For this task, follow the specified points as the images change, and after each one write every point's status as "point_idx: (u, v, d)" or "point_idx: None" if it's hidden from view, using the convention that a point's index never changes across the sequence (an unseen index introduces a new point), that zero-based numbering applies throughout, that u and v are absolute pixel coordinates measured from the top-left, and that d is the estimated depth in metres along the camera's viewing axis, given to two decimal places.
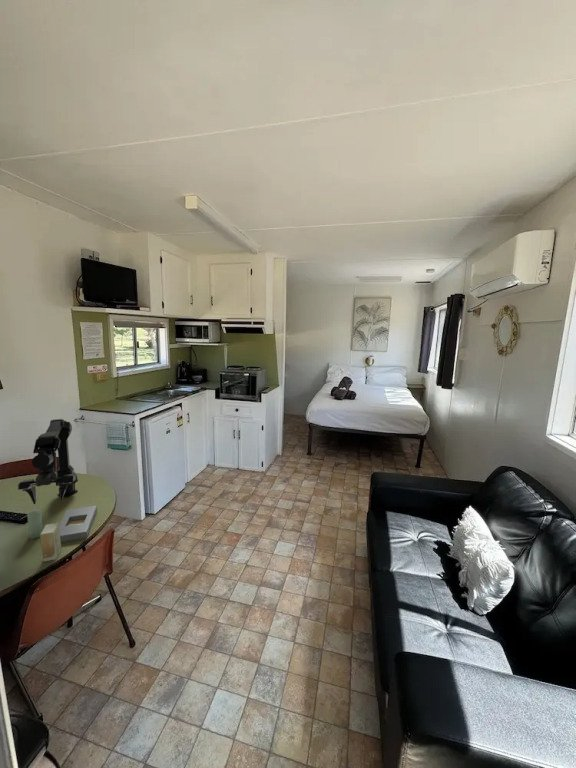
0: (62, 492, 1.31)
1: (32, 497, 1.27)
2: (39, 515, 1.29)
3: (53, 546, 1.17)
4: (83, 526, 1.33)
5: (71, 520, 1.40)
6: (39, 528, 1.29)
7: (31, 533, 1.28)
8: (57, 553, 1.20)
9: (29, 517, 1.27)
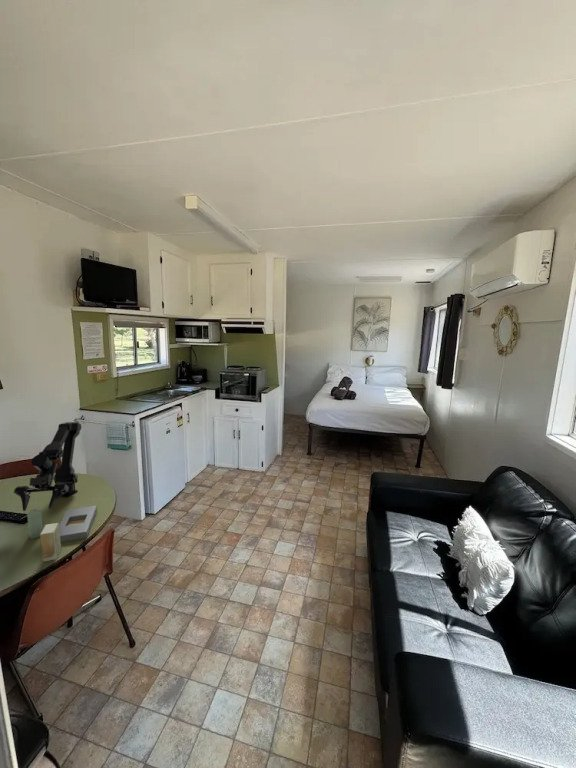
0: (51, 499, 1.33)
1: (23, 503, 1.30)
2: (39, 515, 1.29)
3: (53, 546, 1.17)
4: (83, 526, 1.33)
5: (71, 520, 1.40)
6: (39, 528, 1.29)
7: (31, 533, 1.28)
8: (57, 553, 1.20)
9: (29, 517, 1.27)
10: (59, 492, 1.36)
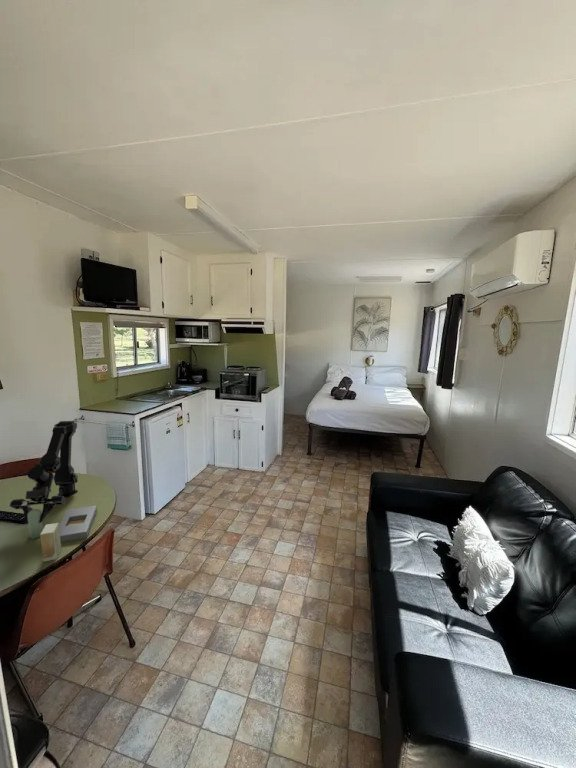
0: (42, 513, 1.30)
1: (26, 516, 1.28)
2: (39, 515, 1.29)
3: (53, 546, 1.17)
4: (83, 526, 1.33)
5: (71, 520, 1.40)
6: (39, 528, 1.29)
7: (31, 533, 1.28)
8: (57, 553, 1.20)
9: (29, 517, 1.27)
10: (50, 505, 1.33)
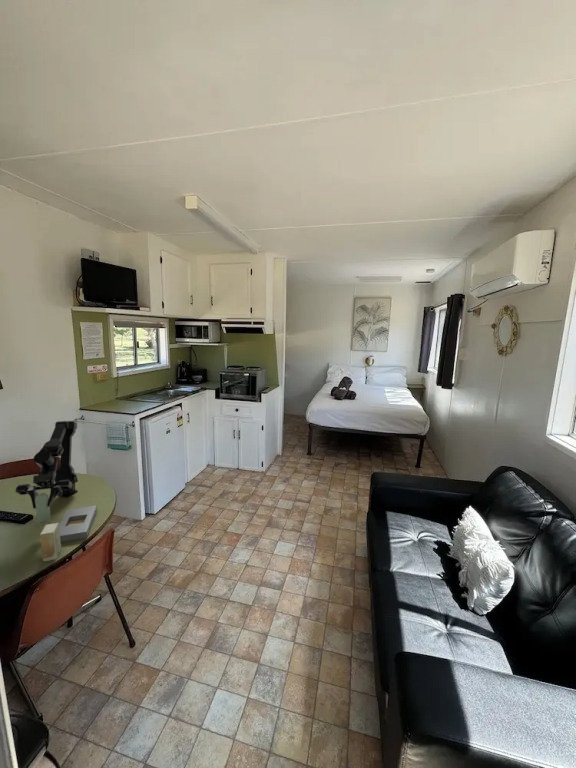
0: (50, 497, 1.30)
1: (33, 500, 1.28)
2: (47, 499, 1.29)
3: (53, 546, 1.17)
4: (83, 526, 1.33)
5: (71, 520, 1.40)
6: (47, 512, 1.29)
7: (39, 517, 1.28)
8: (57, 553, 1.20)
9: (37, 501, 1.27)
10: (57, 490, 1.33)
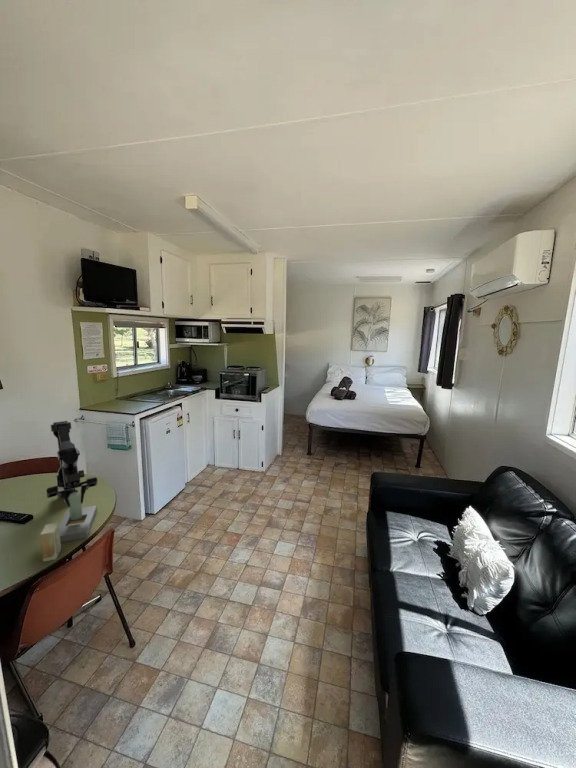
0: (82, 495, 1.37)
1: (66, 499, 1.33)
2: (80, 496, 1.36)
3: (53, 546, 1.17)
4: (83, 526, 1.33)
5: (71, 520, 1.40)
6: (81, 508, 1.37)
7: (74, 514, 1.34)
8: (57, 553, 1.20)
9: (72, 499, 1.33)
10: (86, 487, 1.40)
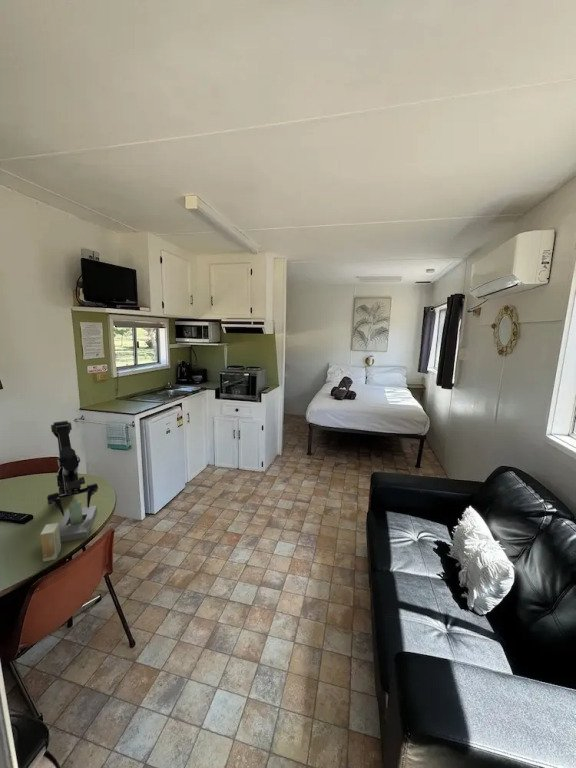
0: (88, 500, 1.39)
1: (61, 508, 1.32)
2: None
3: (53, 546, 1.17)
4: (83, 526, 1.33)
5: None
6: (81, 517, 1.37)
7: (75, 523, 1.35)
8: (57, 553, 1.20)
9: (73, 508, 1.34)
10: (92, 492, 1.42)
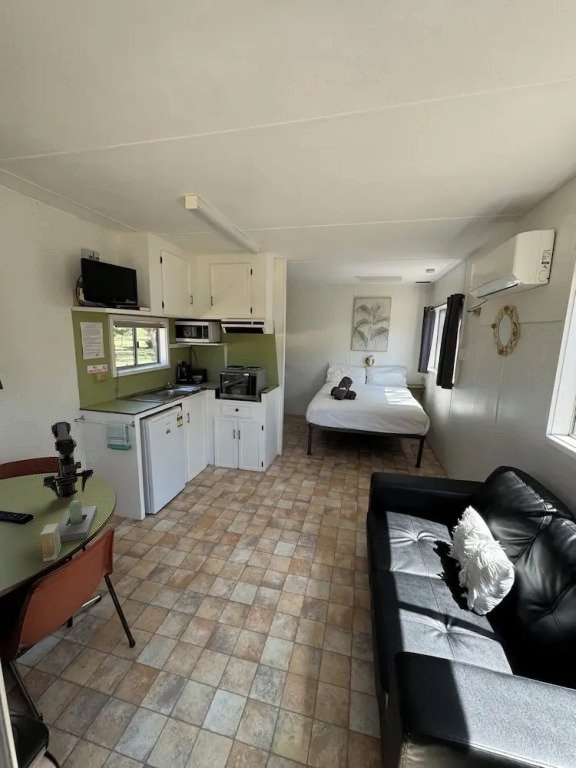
0: (83, 484, 1.42)
1: (56, 490, 1.35)
2: (81, 505, 1.37)
3: (53, 546, 1.17)
4: (83, 526, 1.33)
5: None
6: (81, 517, 1.37)
7: (75, 523, 1.35)
8: (57, 553, 1.20)
9: (73, 508, 1.34)
10: None
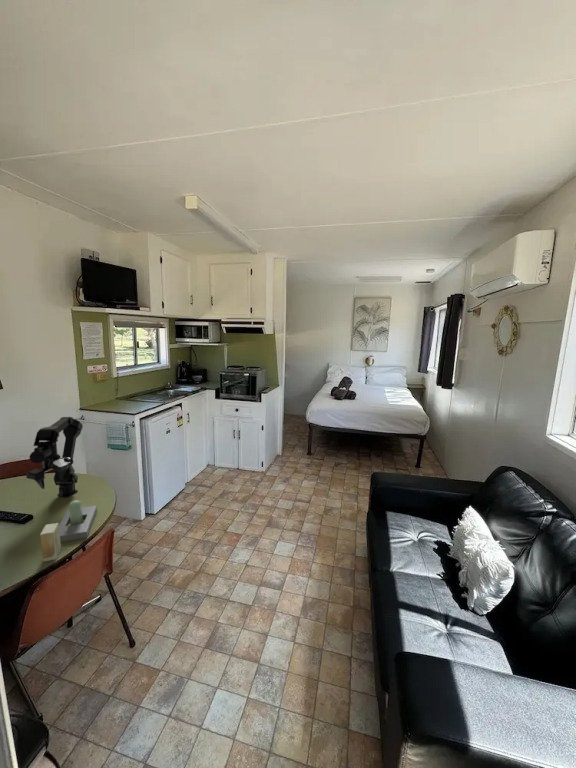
0: (64, 473, 1.51)
1: (43, 483, 1.41)
2: (81, 505, 1.37)
3: (53, 546, 1.17)
4: (83, 526, 1.33)
5: None
6: (81, 517, 1.37)
7: (75, 523, 1.35)
8: (57, 553, 1.20)
9: (73, 508, 1.34)
10: None
